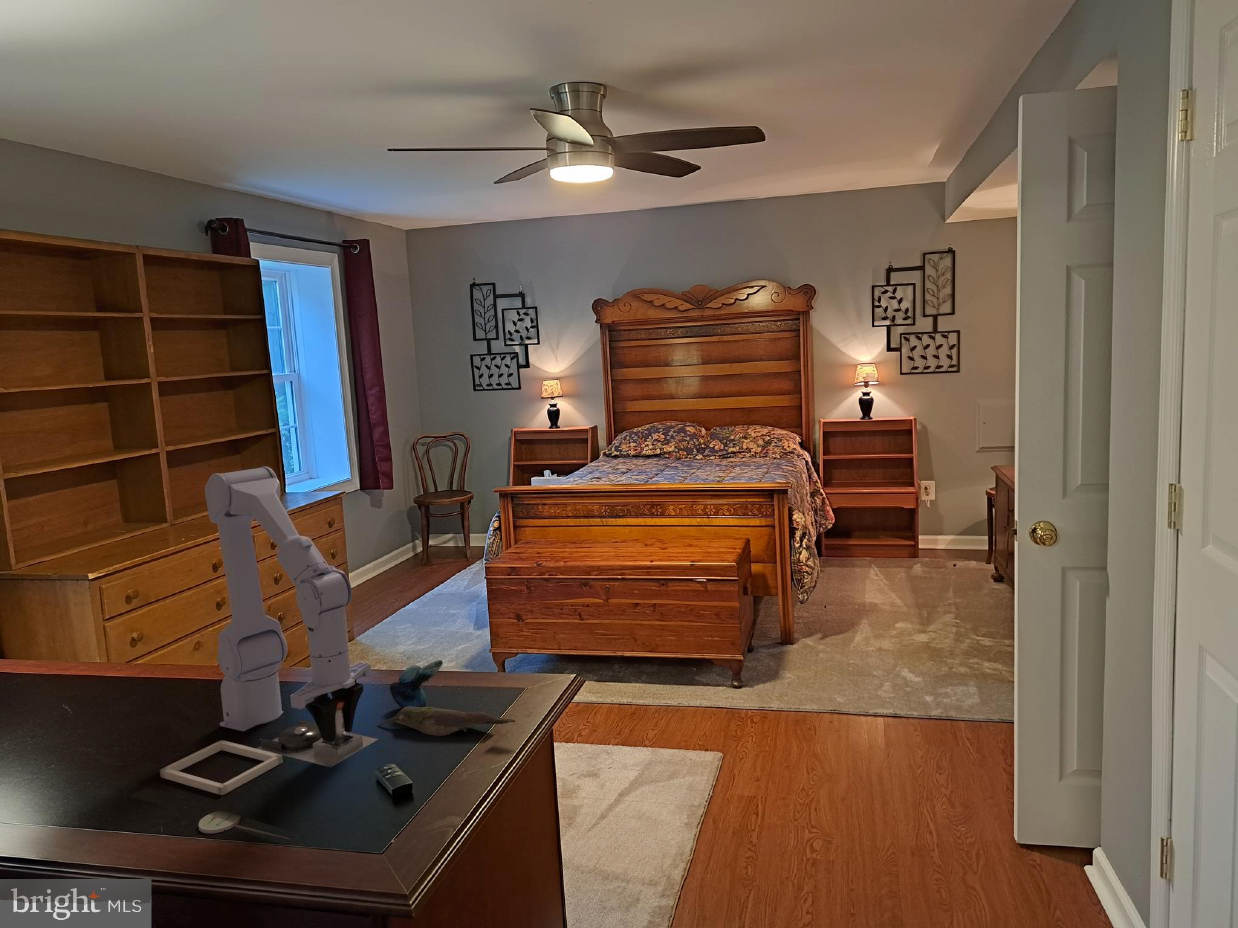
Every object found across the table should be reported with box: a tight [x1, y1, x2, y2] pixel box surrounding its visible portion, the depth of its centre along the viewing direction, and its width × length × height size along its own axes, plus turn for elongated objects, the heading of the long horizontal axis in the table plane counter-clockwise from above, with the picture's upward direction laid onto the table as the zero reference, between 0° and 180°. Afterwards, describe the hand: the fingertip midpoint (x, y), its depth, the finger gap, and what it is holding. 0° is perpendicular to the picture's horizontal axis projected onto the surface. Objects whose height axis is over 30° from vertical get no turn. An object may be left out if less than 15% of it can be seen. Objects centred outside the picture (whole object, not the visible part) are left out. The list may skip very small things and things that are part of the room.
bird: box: [376, 706, 516, 737], centre depth 141 cm, size 25×5×5 cm, turn 76°
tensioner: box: [255, 719, 379, 768], centre depth 138 cm, size 16×10×3 cm, turn 62°
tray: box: [159, 739, 284, 796], centre depth 131 cm, size 14×11×2 cm
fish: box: [389, 659, 444, 709], centre depth 149 cm, size 4×10×10 cm, turn 78°
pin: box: [330, 696, 346, 746], centre depth 135 cm, size 3×3×8 cm
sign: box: [198, 809, 293, 840], centre depth 116 cm, size 5×1×15 cm
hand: (337, 735), depth 135 cm, fingers closed on pin, 3 cm apart
